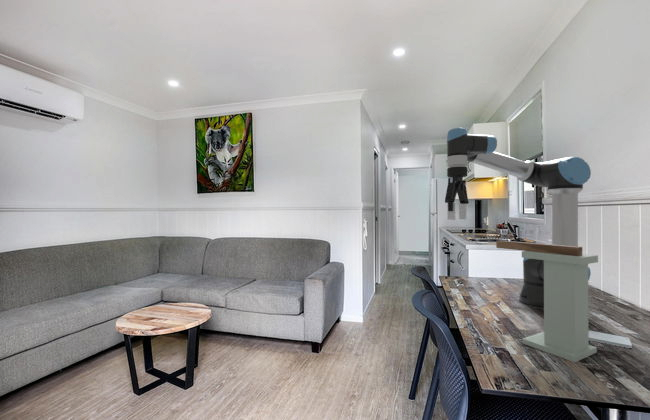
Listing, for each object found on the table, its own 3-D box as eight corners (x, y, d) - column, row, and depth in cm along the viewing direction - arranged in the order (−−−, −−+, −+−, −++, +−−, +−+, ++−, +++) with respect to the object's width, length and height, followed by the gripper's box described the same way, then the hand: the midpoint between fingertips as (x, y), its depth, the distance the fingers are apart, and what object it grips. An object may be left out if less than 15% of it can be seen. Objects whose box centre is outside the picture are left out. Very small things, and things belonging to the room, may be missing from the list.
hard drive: (629, 337, 100) (579, 327, 108) (632, 345, 93) (579, 335, 101) (629, 342, 100) (579, 332, 108) (632, 351, 93) (579, 340, 101)
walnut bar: (501, 247, 110) (501, 240, 110) (582, 255, 89) (582, 246, 89) (496, 247, 109) (496, 240, 109) (577, 256, 88) (577, 247, 88)
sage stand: (541, 334, 104) (541, 249, 104) (601, 353, 90) (600, 255, 90) (519, 342, 98) (518, 251, 98) (579, 363, 84) (578, 257, 84)
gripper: (457, 171, 136) (458, 219, 136) (436, 164, 117) (436, 219, 117) (476, 169, 131) (476, 219, 131) (456, 162, 112) (456, 220, 112)
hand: (457, 219), depth 124 cm, fingers open, 13 cm apart
